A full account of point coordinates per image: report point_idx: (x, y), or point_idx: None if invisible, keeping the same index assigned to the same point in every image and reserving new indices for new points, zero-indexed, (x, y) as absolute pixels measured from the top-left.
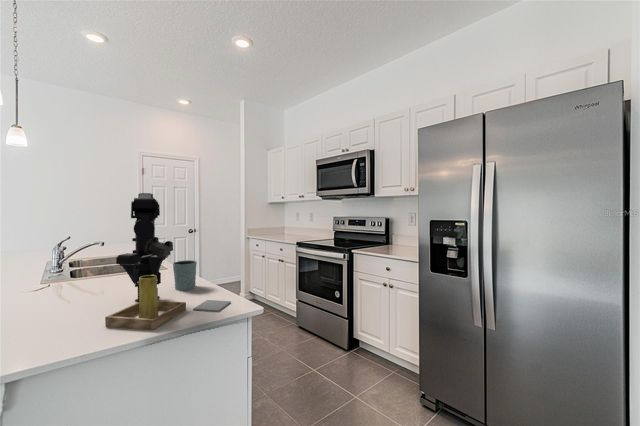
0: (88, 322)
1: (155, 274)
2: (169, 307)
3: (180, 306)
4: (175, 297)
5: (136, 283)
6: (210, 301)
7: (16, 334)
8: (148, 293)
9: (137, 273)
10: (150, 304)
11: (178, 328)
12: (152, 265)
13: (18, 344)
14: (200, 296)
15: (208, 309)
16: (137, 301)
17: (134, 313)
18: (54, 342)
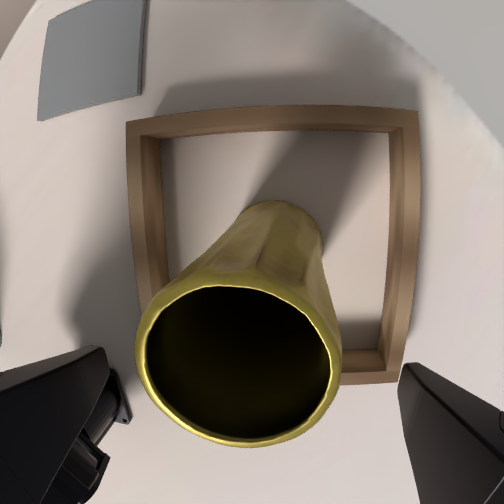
0: (351, 435)
1: (91, 366)
2: (157, 212)
3: (177, 115)
4: (40, 297)
5: (416, 362)
6: (51, 90)
7: None
8: (311, 256)
9: (482, 421)
10: (303, 226)
11: (358, 24)
12: (43, 461)
13: None
14: (7, 197)
15: (138, 22)
16: (128, 412)
17: None
18: (491, 390)
